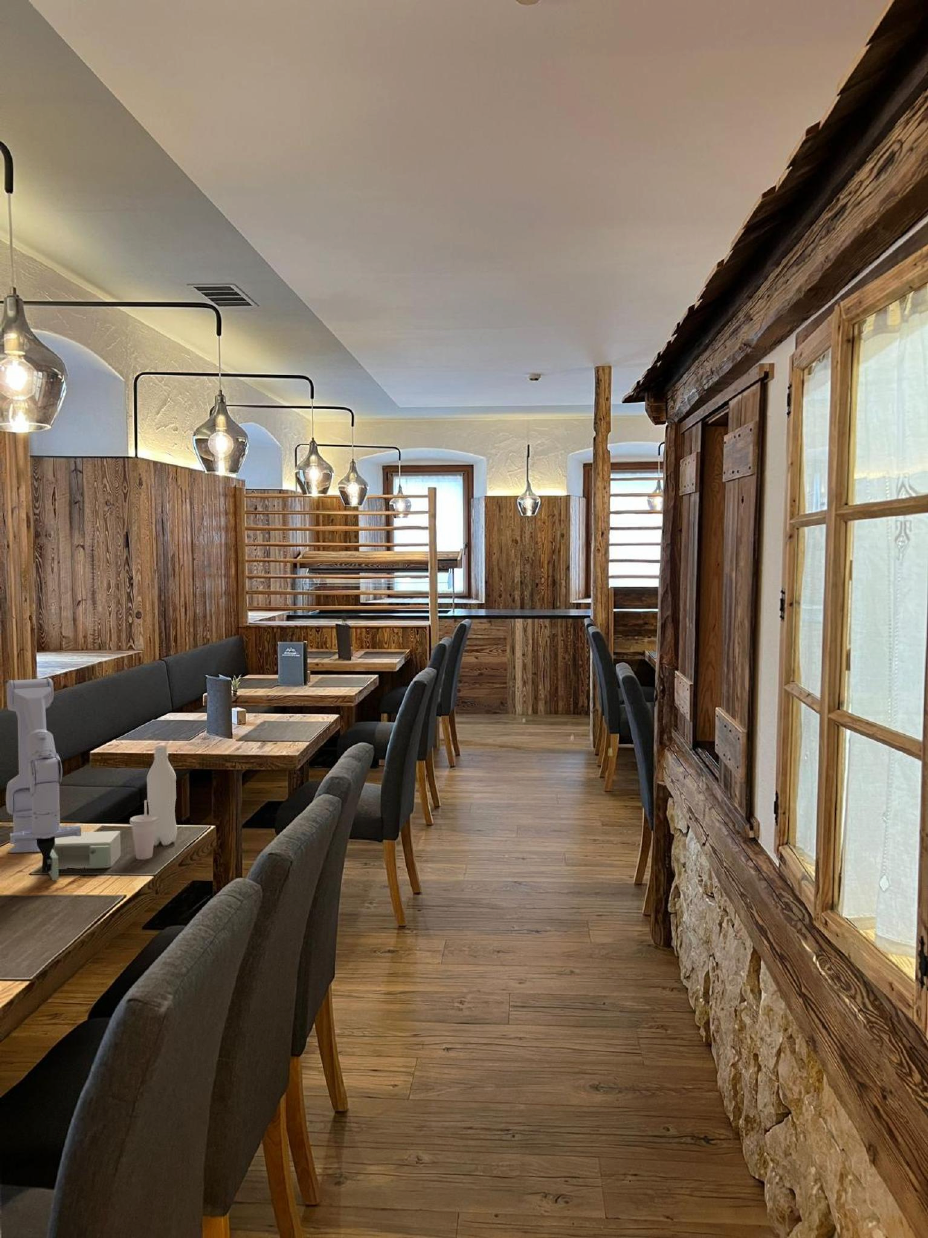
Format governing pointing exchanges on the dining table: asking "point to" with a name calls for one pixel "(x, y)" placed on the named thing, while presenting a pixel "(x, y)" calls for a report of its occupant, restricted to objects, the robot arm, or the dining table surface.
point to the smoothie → (143, 833)
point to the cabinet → (88, 850)
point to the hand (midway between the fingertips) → (46, 870)
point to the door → (53, 865)
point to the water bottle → (162, 796)
